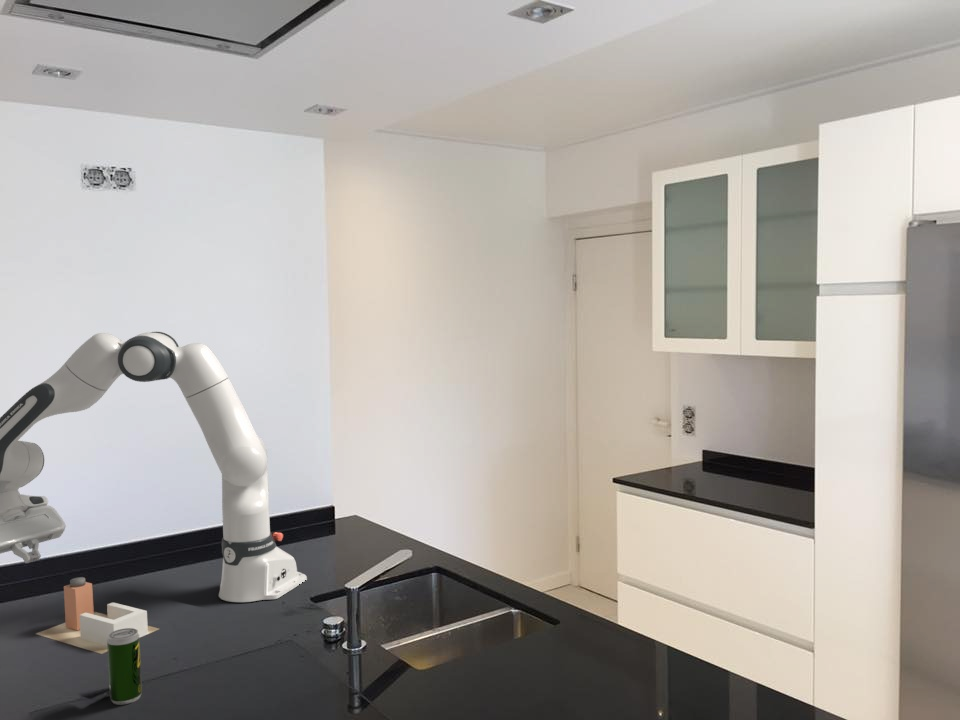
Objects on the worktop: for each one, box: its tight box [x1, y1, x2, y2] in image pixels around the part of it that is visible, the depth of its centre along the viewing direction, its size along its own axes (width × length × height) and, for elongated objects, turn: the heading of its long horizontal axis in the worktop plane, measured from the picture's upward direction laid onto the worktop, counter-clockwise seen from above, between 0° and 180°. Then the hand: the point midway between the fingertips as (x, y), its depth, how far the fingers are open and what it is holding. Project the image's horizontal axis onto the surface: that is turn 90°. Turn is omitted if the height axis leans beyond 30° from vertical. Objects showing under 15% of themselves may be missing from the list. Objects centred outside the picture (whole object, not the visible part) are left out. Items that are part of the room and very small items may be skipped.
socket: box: [79, 602, 149, 646], centre depth 171 cm, size 8×11×5 cm
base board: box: [35, 611, 160, 655], centre depth 174 cm, size 14×22×2 cm, turn 61°
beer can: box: [107, 628, 143, 706], centre depth 146 cm, size 5×5×12 cm
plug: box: [63, 576, 95, 630], centre depth 176 cm, size 4×4×10 cm
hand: (33, 560), depth 184 cm, fingers closed
